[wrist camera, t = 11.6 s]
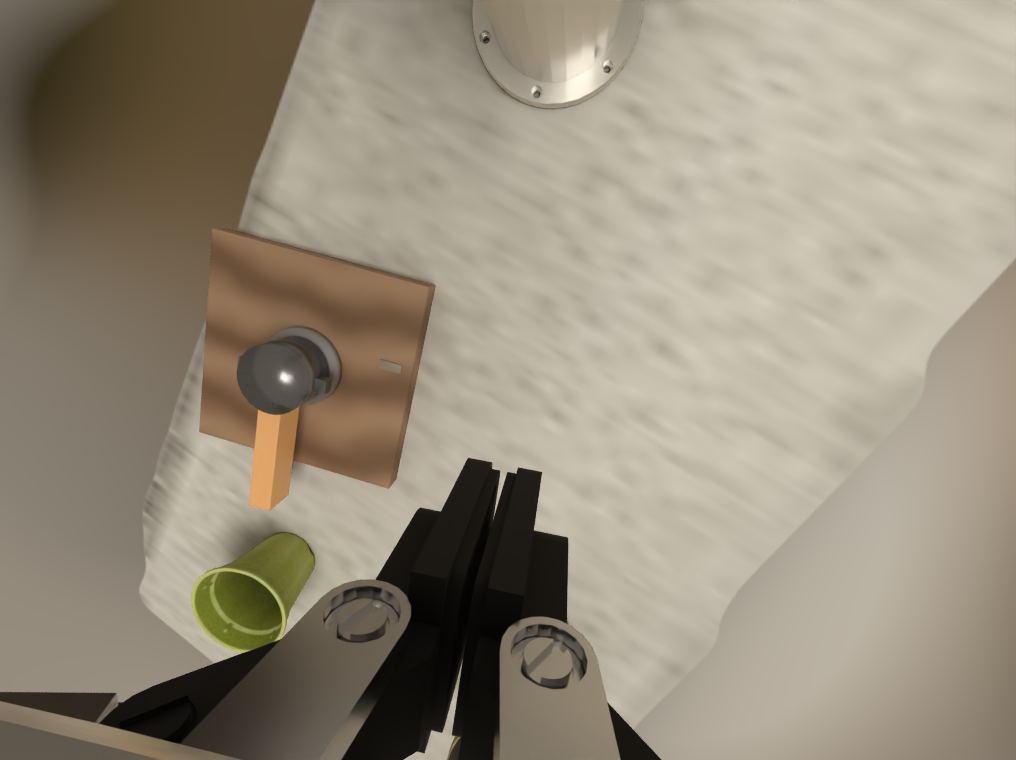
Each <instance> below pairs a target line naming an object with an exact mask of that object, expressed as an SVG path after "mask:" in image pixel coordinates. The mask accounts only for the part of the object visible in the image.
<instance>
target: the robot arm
mask: <svg viewBox="0 0 1016 760" xmlns="http://www.w3.org/2000/svg"><path fill="white" fill-rule="evenodd" d="M643 7H644V0H473V4H472V23H473V32H474V36H475V41H476V45H477V48H478V51H479V53H480V56H481V58H482V60H483V63H484V64H485V66H486V68H487V70H488V72H489V73H490V75H491V76H492V77H493V79H494V80H495V81H496V82H497V84H498V85H499V86H500V87H501V88H502V89H503V90H505V91H506V92H507V93H508V94H509V95H510V96H512V97H514V98H516V99H517V100H519V101H521V102H523V103H525V104H529V105H532V106H535V107H539V108H551V109H555V108H562V107H569V106H572V105H575V104H578V103H581V102H584V101H585V100H587V99H589V98H591V97H592V96H594V95H596V94H597V93H599V92H600V91H601V90H602V89H603V88H605V87H606V86H607V85H608V84H609V83H610V82H612V80H613V79H614V78H615V77H616V75H617V74H618V73H619V72H620V71H621V69H622V68H623V66H624V65H625V63H626V61H627V59H628V58H629V56H630V54H631V52H632V50H633V47H634V45H635V42H636V39H637V37H638V34H639V30H640V26H641V22H642V16H643ZM485 39H490V41H489V42H488V43H487V44H484V40H485ZM606 67H609V68H610V72H609V73H605V72H604V68H606ZM536 92H539V93H540V97H538V98H535V97H534V94H535V93H536ZM541 476H542V472H539V471H534V470H529V469H523V468H518V470H517V474H515V473H510V472H507V475H506V479H505V482H504V486H503V489H502V492H501V496H500V499H499V503H498V506H497V509H496V513H495V516H494V511H495V504H496V498H497V491H498V485H499V478H500V471H499V470H494V469H492V462H487V461H482V460H476V459H471V458H468V459H467V461H466V463H465V465H464V467H463V469H462V471H461V473H460V475H459V477H458V479H457V481H456V483H455V485H454V487H453V489H452V491H451V493H450V495H449V497H448V499H447V501H446V503H445V505H444V507H443V509H442V511H441V512H439V511H434V510H430V509H425V508H419V509H418V510H417V511H416V513H415V515H414V516H413V518H412V520H411V521H410V523H409V525H408V526H407V528H406V530H405V531H404V533H403V535H402V536H401V538H400V540H399V541H398V543H397V545H396V546H395V548H394V550H393V551H392V553H391V555H390V556H389V558H388V560H387V561H386V563H385V565H384V566H383V568H382V570H381V572H380V573H379V575H378V577H377V578H376V580H357V581H352V582H348V583H344V584H342V585H340V586H338V587H336V588H334V589H332V590H331V591H329V592H328V593H327V594H325V595H324V596H323V597H322V598H321V599H320V600H319V601H318V602H317V603H316V604H315V605H314V606H313V607H312V608H311V609H310V610H309V611H308V612H307V613H306V614H305V615H304V616H303V617H302V618H301V619H300V620H299V621H298V622H297V623H296V624H295V625H294V627H293V628H292V629H291V630H290V631H289V632H288V633H287V634H286V635H285V636H284V637H283V638H282V639H280V640H277V641H275V642H272V643H269V644H266V645H264V646H261V647H258V648H255V649H253V650H250V651H247V652H245V653H242V654H239V655H236V656H234V657H231V658H228V659H226V660H223V661H220V662H217V663H215V664H212V665H209V666H207V667H204V668H201V669H198V670H196V671H193V672H190V673H187V674H185V675H182V676H179V677H177V678H174V679H171V680H169V681H166V682H163V683H160V684H158V685H155V686H152V687H150V688H148V689H146V690H144V691H142V692H140V693H137V694H135V695H133V696H132V697H130V698H129V699H127V700H126V701H125V702H119V703H118V700H117V693H57V692H56V693H53V692H52V693H51V692H0V760H403V759H405V758H407V757H408V756H410V755H412V754H413V753H415V752H417V751H418V752H422V753H425V750H426V746H427V743H428V740H429V736H430V733H431V730H433V731H437V732H441V733H442V732H443V729H444V726H445V722H446V719H447V715H448V711H449V708H450V704H451V700H452V697H453V693H454V689H455V685H456V682H457V678H458V674H459V671H460V667H461V663H462V660H463V663H462V669H461V676H460V683H459V690H458V697H457V703H456V710H455V717H454V724H453V731H452V735H453V736H457V737H461V744H460V750H459V757H458V760H661V759H660V758H659V757H658V756H657V755H656V754H655V752H654V751H653V750H652V749H651V748H650V747H649V746H648V745H647V744H646V743H645V742H644V741H643V740H642V739H641V738H640V737H639V735H638V734H637V733H636V732H635V731H634V730H633V729H632V728H631V727H630V726H629V725H628V724H627V723H626V722H625V721H624V719H623V718H622V717H621V716H620V715H619V714H618V713H617V712H616V711H615V710H614V709H613V708H612V707H611V706H610V705H609V703H608V702H607V699H606V694H605V690H604V686H603V681H602V677H601V673H600V669H599V664H598V660H597V657H596V655H595V652H594V650H593V647H592V646H591V644H590V643H589V642H588V640H587V639H586V638H585V637H584V635H583V634H581V633H580V632H579V631H577V630H576V629H575V628H574V627H572V626H571V625H568V624H567V584H568V538H567V537H563V536H558V535H553V534H548V533H543V532H538V531H534V525H535V518H536V511H537V504H538V497H539V490H540V483H541ZM493 517H494V519H493Z"/></svg>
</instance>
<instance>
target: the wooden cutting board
mask: <svg viewBox="0 0 1016 760" xmlns="http://www.w3.org/2000/svg"><path fill="white" fill-rule="evenodd" d="M434 290H435V285H432V284H428V283H424V282H421V281H417V280H413V279H409V278H406V277H402V276H398V275H395V274H391V273H387V272H384V271H380V270H376V269H373V268H369V267H365V266H362V265H358V264H354V263H351V262H347V261H343V260H340V259H336V258H332V257H329V256H325V255H321V254H318V253H314V252H310V251H307V250H303V249H299V248H296V247H292V246H288V245H285V244H281V243H277V242H274V241H270V240H266V239H263V238H259V237H255V236H252V235H248V234H244V233H240V232H237V231H233V230H229V229H215V228H213V229H212V244H211V259H210V275H209V291H208V305H207V321H206V336H205V351H204V367H203V382H202V397H201V413H200V428H199V432H201V433H204V434H208V435H211V436H214V437H218V438H221V439H224V440H228V441H231V442H234V443H238V444H241V445H244V446H248V447H251V448H255V438H256V428H257V417H258V409H257V408H255V407H254V406H253V405H251V404H250V403H249V402H248V401H247V399H246V398H245V397H244V395H243V394H242V392H241V390H240V388H239V385H238V381H237V365H238V357H239V356H242V355H243V354H244V353H245V352H246V351H247V350H248V349H250V348H252V347H254V346H256V345H260V344H263V343H266V342H270V341H273V340H276V339H279V338H283V337H286V336H300V337H303V338H306V339H308V340H310V341H311V342H313V343H314V344H315V345H317V346H318V348H319V349H320V350H321V351H322V352H323V354H324V356H325V358H326V360H327V363H328V367H329V378H332V383H331V390H330V392H328V393H327V394H325V395H324V394H319V395H318V396H317V397H315V398H313V399H311V400H310V401H308V402H306V403H305V404H303V405H301V406H300V407H299V415H298V423H297V431H296V439H295V446H294V454H293V460H295V461H298V462H301V463H305V464H308V465H311V466H315V467H318V468H321V469H325V470H328V471H331V472H335V473H338V474H341V475H345V476H348V477H351V478H355V479H358V480H361V481H365V482H368V483H371V484H375V485H378V486H381V487H385V488H388V489H389V488H390V486H391V485H392V484H393V483H394V481H395V480H396V477H397V472H398V467H399V462H400V457H401V452H402V448H403V443H404V438H405V433H406V428H407V423H408V418H409V413H410V408H411V403H412V398H413V393H414V389H415V384H416V379H417V374H418V369H419V364H420V359H421V354H422V349H423V344H424V339H425V335H426V330H427V325H428V320H429V315H430V310H431V305H432V300H433V295H434Z"/></svg>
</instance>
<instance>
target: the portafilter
mask: <svg viewBox="0 0 1016 760" xmlns="http://www.w3.org/2000/svg"><path fill="white" fill-rule="evenodd" d="M237 381H238V385H239V388H240V390H241V392H242V394H243V395H244V397H245V398H246V399H247V401H248V402H249V403H250V404H251V405H253V406H254V407H255V408H257V409H258V417H257V428H256V438H255V448H254V458H253V468H252V478H251V488H250V498H249V505H251V506H255V507H258V508H261V509H265V510H268V511H270V510H271V509H272V508H274V507H275V506H276V505H277V504H278V503H279V502H280V501H282V500H283V499H284V498H285V497H286V496H287V495H288V494H289V486H290V478H291V470H292V462H293V454H294V446H295V439H296V431H297V423H298V415H299V407H300V406H301V405H303V404H305V403H306V402H308V401H310V400H311V399H313V398H315V397H317V396H318V395H319V394H324V395H325V394H327V393H328V392H330V390H331V383H332V378H329V367H328V363H327V360H326V358H325V356H324V354H323V352H322V351H321V350H320V349H319V348H318V346H317V345H315V344H314V343H313V342H311V341H310V340H308V339H306V338H303V337H300V336H286V337H283V338H279V339H276V340H273V341H270V342H266V343H263V344H260V345H256V346H254V347H252V348H250V349H248V350H247V351H246V352H245V353H244V354H243V355H242V356H239V357H238V365H237Z"/></svg>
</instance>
